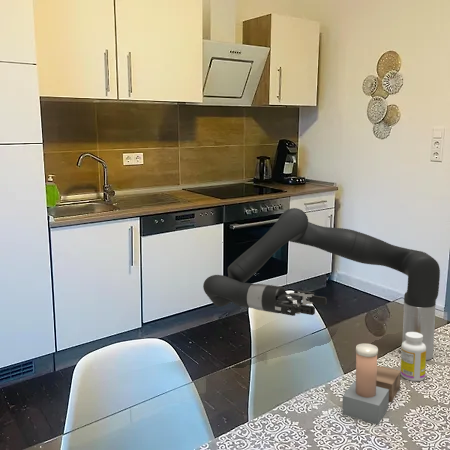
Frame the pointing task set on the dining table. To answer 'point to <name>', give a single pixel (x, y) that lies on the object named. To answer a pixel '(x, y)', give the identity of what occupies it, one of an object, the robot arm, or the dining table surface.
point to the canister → (366, 370)
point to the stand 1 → (365, 404)
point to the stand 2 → (388, 380)
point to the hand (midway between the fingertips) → (320, 306)
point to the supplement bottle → (413, 357)
